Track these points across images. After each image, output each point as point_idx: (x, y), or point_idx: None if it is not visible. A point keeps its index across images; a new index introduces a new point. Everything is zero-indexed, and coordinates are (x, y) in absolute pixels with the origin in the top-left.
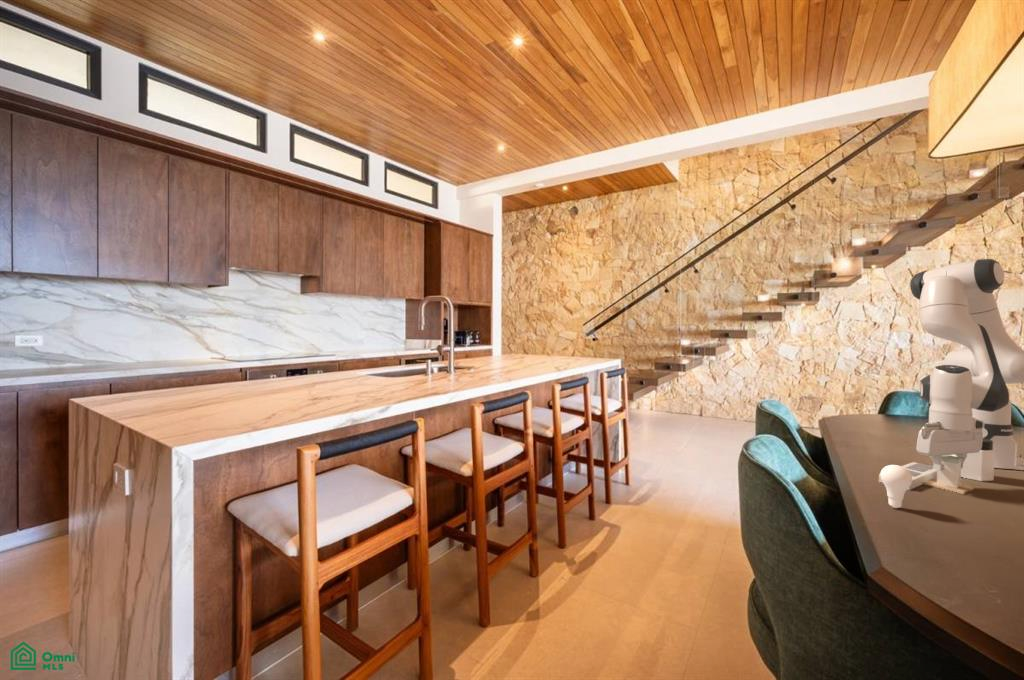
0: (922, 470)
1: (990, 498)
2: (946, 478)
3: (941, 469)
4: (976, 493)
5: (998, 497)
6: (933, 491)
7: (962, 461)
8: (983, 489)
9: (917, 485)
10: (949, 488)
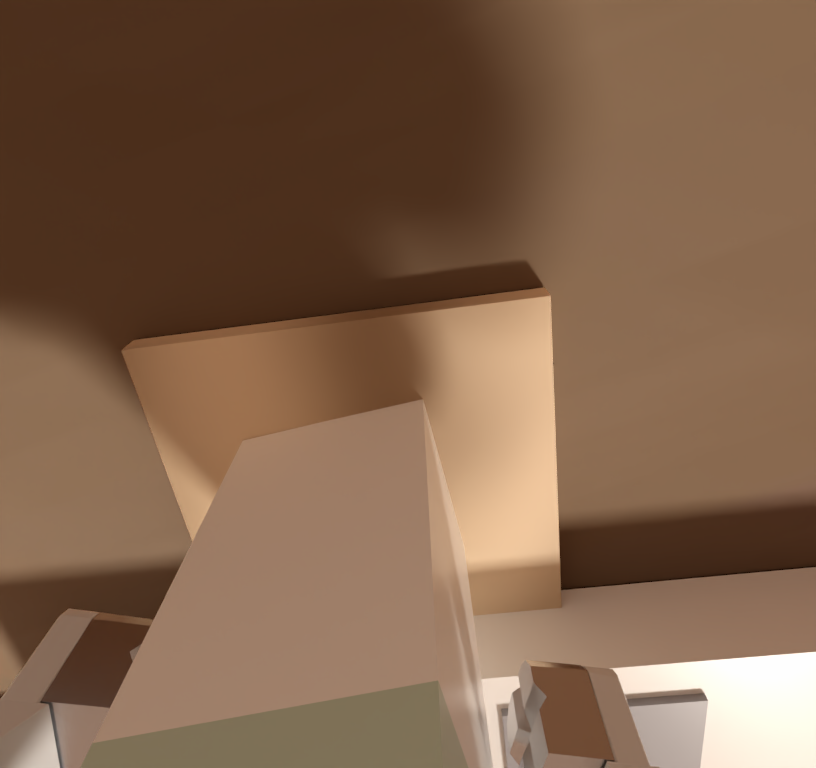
0: None
1: (383, 64)
2: (451, 542)
3: (592, 673)
4: (326, 245)
5: (211, 39)
6: (739, 457)
7: (10, 727)
8: (46, 288)
9: (704, 586)
10: (537, 423)
